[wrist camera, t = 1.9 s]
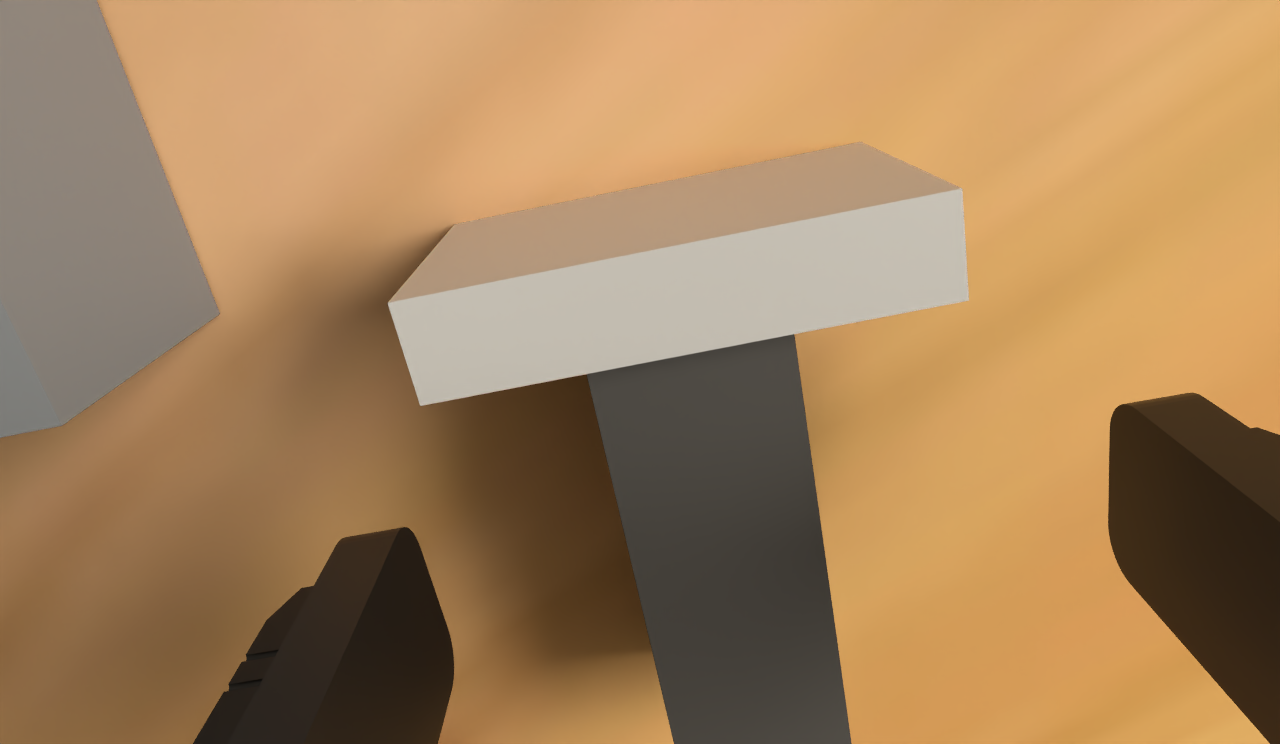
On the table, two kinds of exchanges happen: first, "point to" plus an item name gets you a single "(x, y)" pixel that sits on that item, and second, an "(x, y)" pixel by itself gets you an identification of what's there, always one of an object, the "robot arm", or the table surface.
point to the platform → (81, 222)
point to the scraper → (700, 391)
